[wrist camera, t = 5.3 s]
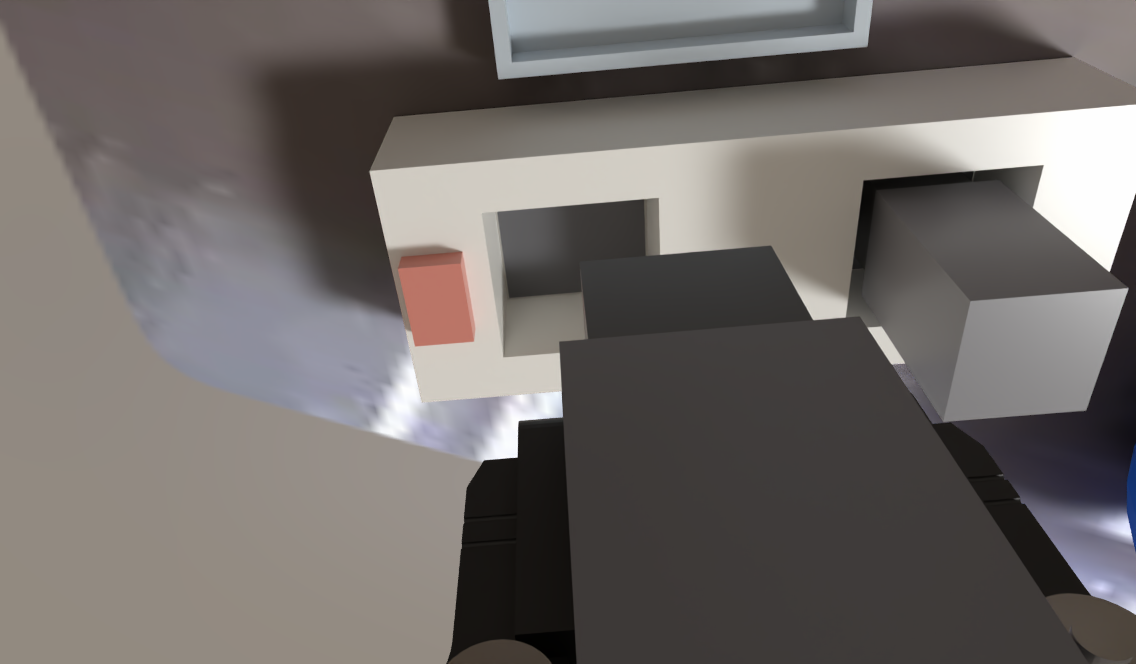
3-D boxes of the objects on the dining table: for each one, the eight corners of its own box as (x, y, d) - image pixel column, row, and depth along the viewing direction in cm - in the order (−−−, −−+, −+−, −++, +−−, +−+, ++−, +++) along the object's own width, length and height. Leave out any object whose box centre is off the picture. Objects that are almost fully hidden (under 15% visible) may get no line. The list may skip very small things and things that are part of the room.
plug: (553, 241, 13) (594, 971, 5) (797, 221, 13) (1258, 920, 5) (571, 431, 16) (621, 1166, 7) (781, 414, 15) (1082, 1132, 7)
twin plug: (846, 156, 29) (970, 301, 21) (959, 146, 29) (1128, 288, 21) (835, 255, 31) (943, 421, 23) (940, 246, 31) (1085, 410, 23)
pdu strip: (393, 116, 29) (364, 181, 24) (1073, 57, 29) (1183, 110, 24) (436, 327, 34) (419, 416, 29) (1016, 279, 34) (1097, 361, 29)
